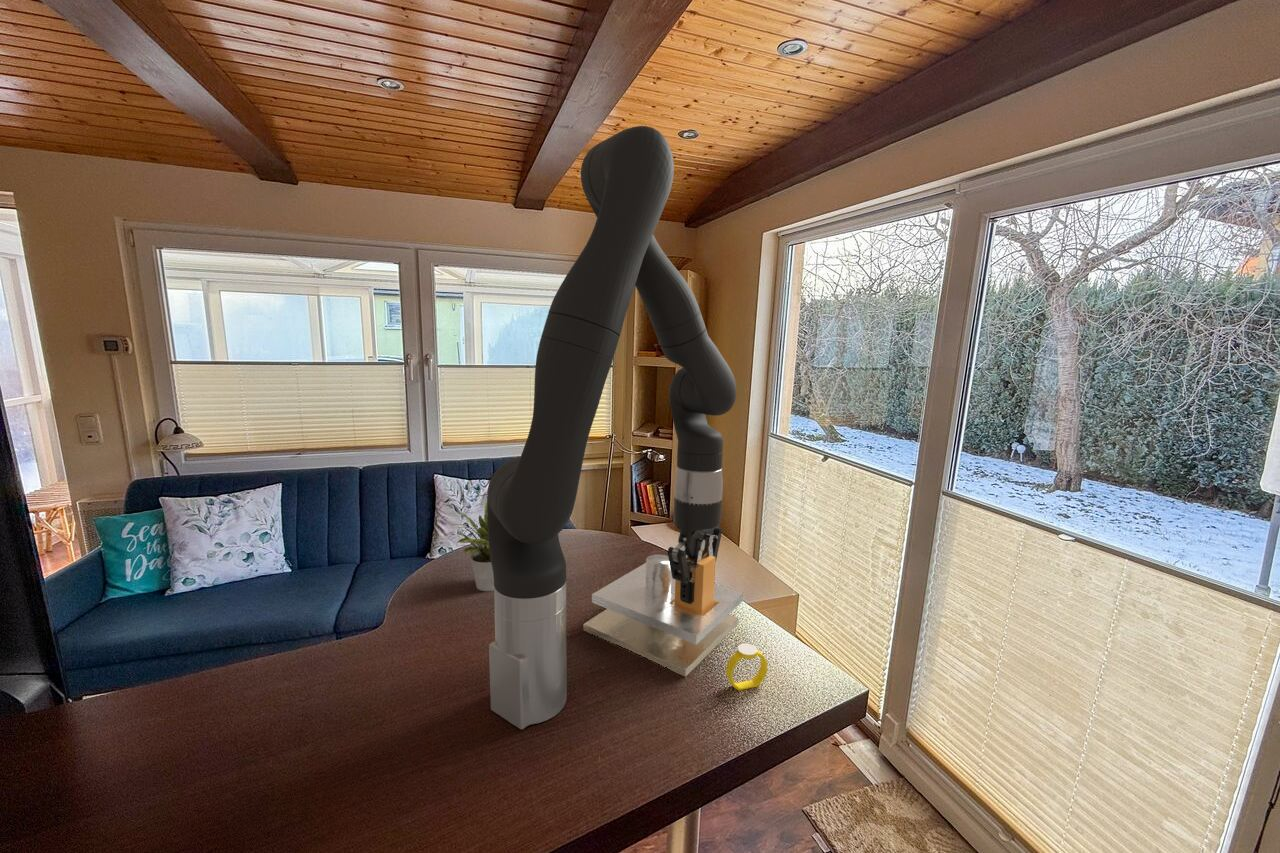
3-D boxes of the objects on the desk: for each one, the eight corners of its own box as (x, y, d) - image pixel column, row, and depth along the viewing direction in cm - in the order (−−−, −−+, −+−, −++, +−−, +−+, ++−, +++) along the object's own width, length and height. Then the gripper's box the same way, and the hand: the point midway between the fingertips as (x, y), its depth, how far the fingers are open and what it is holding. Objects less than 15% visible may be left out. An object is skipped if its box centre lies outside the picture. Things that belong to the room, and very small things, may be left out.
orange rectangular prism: (701, 625, 81) (703, 565, 79) (674, 614, 83) (676, 557, 82) (713, 614, 84) (715, 557, 82) (686, 605, 87) (688, 549, 85)
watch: (732, 698, 71) (732, 659, 70) (723, 685, 74) (722, 648, 73) (770, 687, 73) (770, 649, 72) (760, 675, 76) (759, 638, 74)
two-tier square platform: (691, 679, 74) (694, 602, 72) (583, 630, 86) (583, 563, 84) (743, 625, 89) (747, 560, 87) (644, 590, 101) (645, 532, 99)
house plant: (446, 574, 106) (443, 498, 103) (513, 563, 112) (512, 491, 109) (452, 606, 93) (449, 520, 91) (528, 592, 99) (527, 511, 96)
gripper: (696, 510, 73) (692, 622, 75) (739, 489, 84) (734, 586, 87) (653, 500, 77) (650, 606, 80) (699, 481, 88) (695, 574, 91)
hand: (694, 595), depth 83 cm, fingers closed on orange rectangular prism, 4 cm apart
